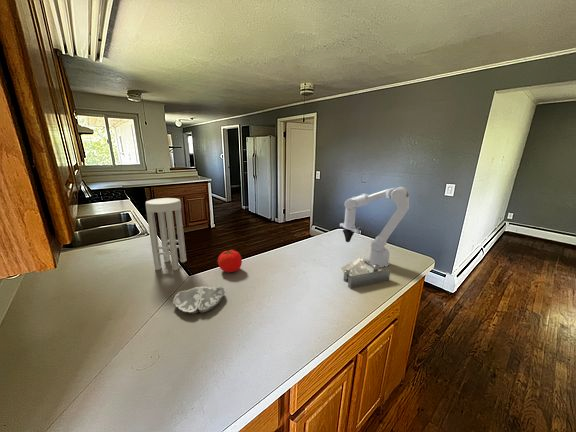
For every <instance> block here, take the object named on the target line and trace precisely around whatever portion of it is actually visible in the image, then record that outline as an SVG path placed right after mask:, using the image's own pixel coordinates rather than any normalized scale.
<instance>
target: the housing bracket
mask: <svg viewBox="0 0 576 432" xmlns="http://www.w3.org/2000/svg"><path fill="white" fill-rule="evenodd" d="M390 277H391V270H389V269H382V270H379V265H376V264H375V265H374V267H373V269H372V272H370V273H366V274H361V275H356V276H352V275H351V276H350V274H349V270H344V272H343V281H344V282H346V283H348V284H347V285H348V286H347V287H348V288H349V289H351V290H352V289H357V288H361V287H366V286H370V285H375V284H378V283H379V282H380V283H384V281H385V282H389V281H390ZM388 280H389V281H388ZM380 283H379V284H380Z"/></svg>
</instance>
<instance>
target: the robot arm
mask: <svg viewBox="0 0 576 432" xmlns="http://www.w3.org/2000/svg"><path fill="white" fill-rule="evenodd" d="M383 198H386V199H391V200H392V201H393V202H394V203H395V205H396V210H395V211H394V212H393V214H392V216H391V217H390V219H389V220H388V221H387V223H386V224H385V226H384V227H383V228H382V230H381V232H380V233H379V234H378V235H377V236H375V238H374V240H372V241H371V242H370V248H371V249H370V257H369V258H370V259H369V260H366V264H368V265H370V266H372V267H373V268H374V265H375V264H376V265H379V267H380V268H384V266H385V267H389V266H390V264H389V261H390V251H389V249H388V248H387V247H385V246H386V245H387V243H388V239H389V237H390V236H392V235H391V234H392V233H393V232H394V230H396V227H397V226H398V225H399V224H400V222H401V221H402V220H403V218H404V216H405V215H406V214H407V212H408V211H409V209H410V193H409V191H408V189H407V188H406V187H405V186H402V185H400V186H397V187H391V188H386V189H384V190H381V191H378V192H375V193H371V194H368V193H364V192H363V193H360V195H357V196H355V195H353V196H352V197H351V198H347V199H346V200H345V201H344V203H343V204H344V208H345V210H344V221H343V222H341V223H339V227H340V228H343V229H342V234H343V235H344V239H345V240H344V241H345V243H350V242H351V240H352V237H353V236H354V234H355V235H357V234H360V229H358V228H357V227H356V225H355V223H356V215H357V214H356V211H357V208H359V207H363V206H367V205H369V204H370V202H371V201H375V200H379V199H383ZM388 265H389V266H388Z"/></svg>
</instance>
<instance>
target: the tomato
mask: <svg viewBox="0 0 576 432" xmlns="http://www.w3.org/2000/svg"><path fill="white" fill-rule="evenodd" d="M242 263H243V258H242V256H241V254H240V253H239V252H238V251H237V250H235V249H234V248H233V249H229V250H224V251H222V252H221V253H220V254H219V256H218V257H217V264H218V267H219V269H220V270H221V271H223V272H225V273H233V272H234V273H235V272H237V271H239V270H240V269H241V268H242Z"/></svg>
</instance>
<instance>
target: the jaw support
mask: <svg viewBox="0 0 576 432" xmlns="http://www.w3.org/2000/svg"><path fill="white" fill-rule="evenodd" d="M365 264H366V263H365V259H363V258H362V257H359V258H356V259H354V260H353V261H350V262H349V263H347V264H345V265H343V266H342V267H340V270H341V271H342V272H343V273H344V270H349V275H351V276H356V275H361V274H366V273H371V272H370V270H368V268H367V265H365ZM351 270H352V271H351Z"/></svg>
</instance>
